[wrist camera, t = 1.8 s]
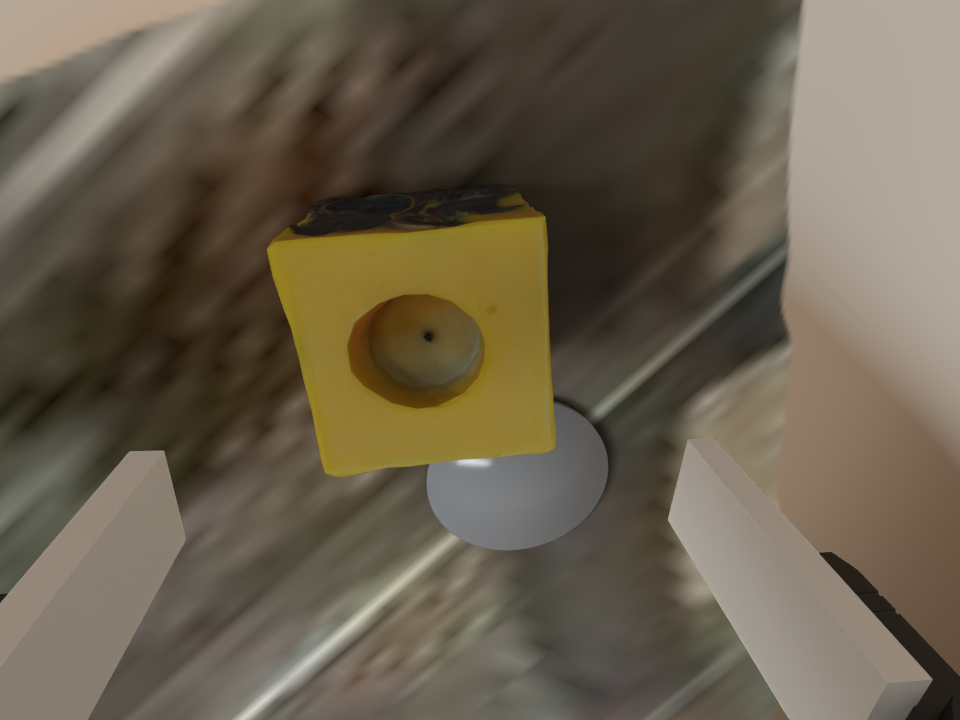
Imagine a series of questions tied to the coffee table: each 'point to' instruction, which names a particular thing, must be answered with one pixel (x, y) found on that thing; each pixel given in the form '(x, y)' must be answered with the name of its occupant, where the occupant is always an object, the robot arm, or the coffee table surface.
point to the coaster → (523, 489)
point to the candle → (421, 326)
